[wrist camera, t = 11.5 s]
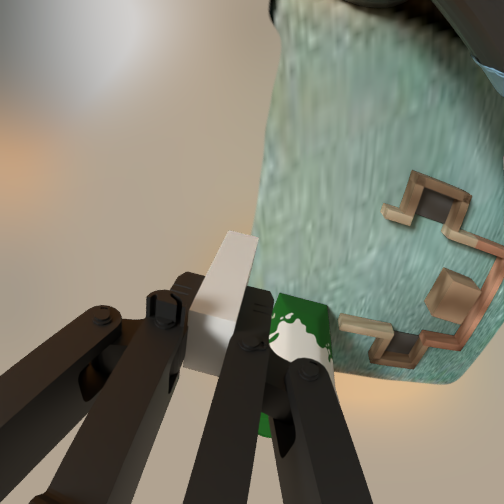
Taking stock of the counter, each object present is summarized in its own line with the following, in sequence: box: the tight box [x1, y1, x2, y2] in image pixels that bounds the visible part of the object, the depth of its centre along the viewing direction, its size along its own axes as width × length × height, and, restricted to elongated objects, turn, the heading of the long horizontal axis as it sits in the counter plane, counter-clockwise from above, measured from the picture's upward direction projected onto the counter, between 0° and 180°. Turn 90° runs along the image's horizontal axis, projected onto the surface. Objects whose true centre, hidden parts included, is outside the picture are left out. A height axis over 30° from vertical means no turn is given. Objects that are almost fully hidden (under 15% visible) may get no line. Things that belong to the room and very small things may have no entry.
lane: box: [338, 203, 504, 351], centre depth 41 cm, size 18×23×2 cm
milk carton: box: [258, 293, 339, 438], centre depth 38 cm, size 9×9×20 cm
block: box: [424, 267, 481, 325], centre depth 40 cm, size 6×6×4 cm
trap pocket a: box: [399, 170, 472, 232], centre depth 36 cm, size 5×8×2 cm, turn 78°
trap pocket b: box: [368, 331, 429, 369], centre depth 46 cm, size 5×8×2 cm, turn 78°
